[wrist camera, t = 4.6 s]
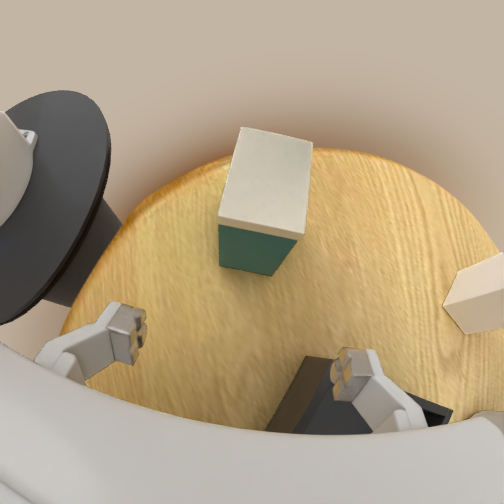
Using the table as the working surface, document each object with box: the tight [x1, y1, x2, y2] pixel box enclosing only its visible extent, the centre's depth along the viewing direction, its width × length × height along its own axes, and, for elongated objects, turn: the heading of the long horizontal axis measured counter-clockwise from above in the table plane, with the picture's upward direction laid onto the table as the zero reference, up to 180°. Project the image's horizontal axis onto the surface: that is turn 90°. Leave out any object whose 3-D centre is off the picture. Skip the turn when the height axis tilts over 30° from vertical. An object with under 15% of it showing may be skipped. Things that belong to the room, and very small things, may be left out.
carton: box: [217, 127, 313, 276], centre depth 22 cm, size 5×7×11 cm
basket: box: [264, 356, 453, 435], centre depth 19 cm, size 15×15×7 cm
